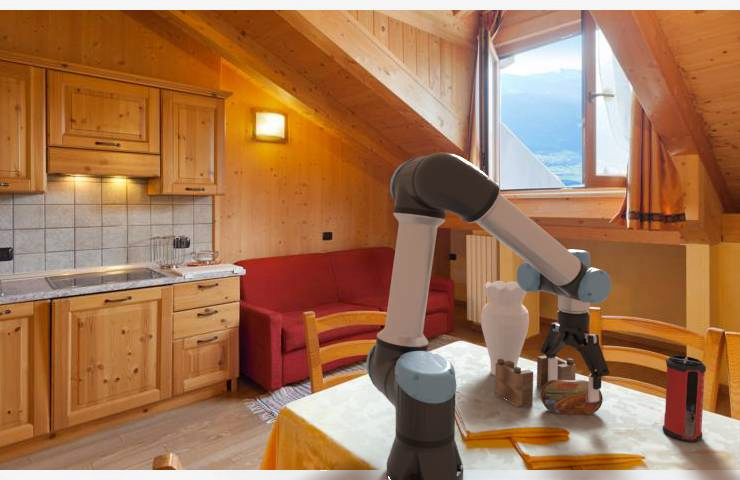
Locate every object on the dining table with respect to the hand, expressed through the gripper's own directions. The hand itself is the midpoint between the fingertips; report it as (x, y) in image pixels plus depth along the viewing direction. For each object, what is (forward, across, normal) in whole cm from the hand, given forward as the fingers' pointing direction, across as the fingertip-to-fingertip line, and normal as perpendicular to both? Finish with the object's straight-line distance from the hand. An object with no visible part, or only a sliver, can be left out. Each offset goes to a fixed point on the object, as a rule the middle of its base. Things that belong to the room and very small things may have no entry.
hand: (571, 390), depth 120 cm
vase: (+6, +29, -1) cm, 30 cm away
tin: (+6, 0, 0) cm, 6 cm away
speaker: (+6, -19, -14) cm, 25 cm away
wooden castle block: (+6, +12, +2) cm, 13 cm away
